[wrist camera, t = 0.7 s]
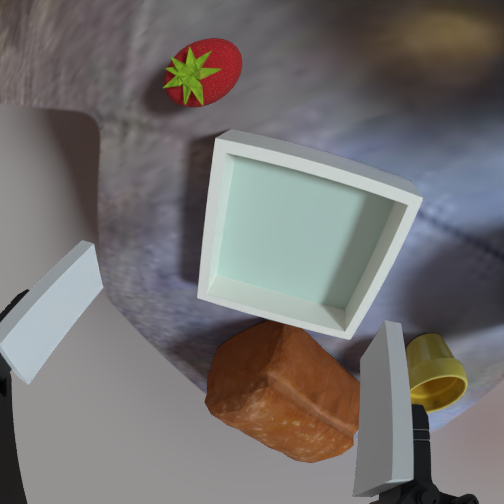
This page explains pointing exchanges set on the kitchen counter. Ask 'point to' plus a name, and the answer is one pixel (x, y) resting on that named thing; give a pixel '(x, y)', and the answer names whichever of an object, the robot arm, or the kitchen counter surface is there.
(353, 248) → the serving bin
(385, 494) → the robot arm
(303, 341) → the bread
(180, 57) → the strawberry
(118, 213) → the kitchen counter surface
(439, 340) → the plant pot
